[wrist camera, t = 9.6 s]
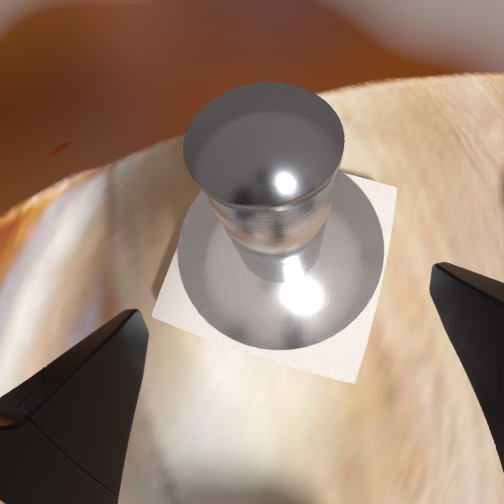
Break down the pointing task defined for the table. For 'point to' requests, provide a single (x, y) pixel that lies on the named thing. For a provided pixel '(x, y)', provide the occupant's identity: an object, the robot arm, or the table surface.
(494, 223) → the table surface
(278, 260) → the steel weight
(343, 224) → the scale pan
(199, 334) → the base
